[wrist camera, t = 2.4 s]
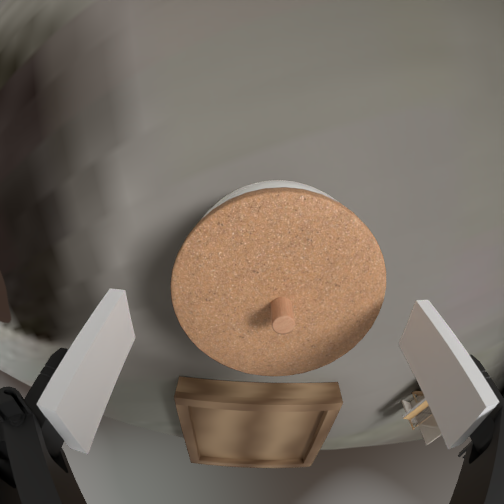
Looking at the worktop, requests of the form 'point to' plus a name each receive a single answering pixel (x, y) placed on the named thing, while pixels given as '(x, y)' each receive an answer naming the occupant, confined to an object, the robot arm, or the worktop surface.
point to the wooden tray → (255, 421)
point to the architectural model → (421, 417)
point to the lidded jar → (278, 280)
